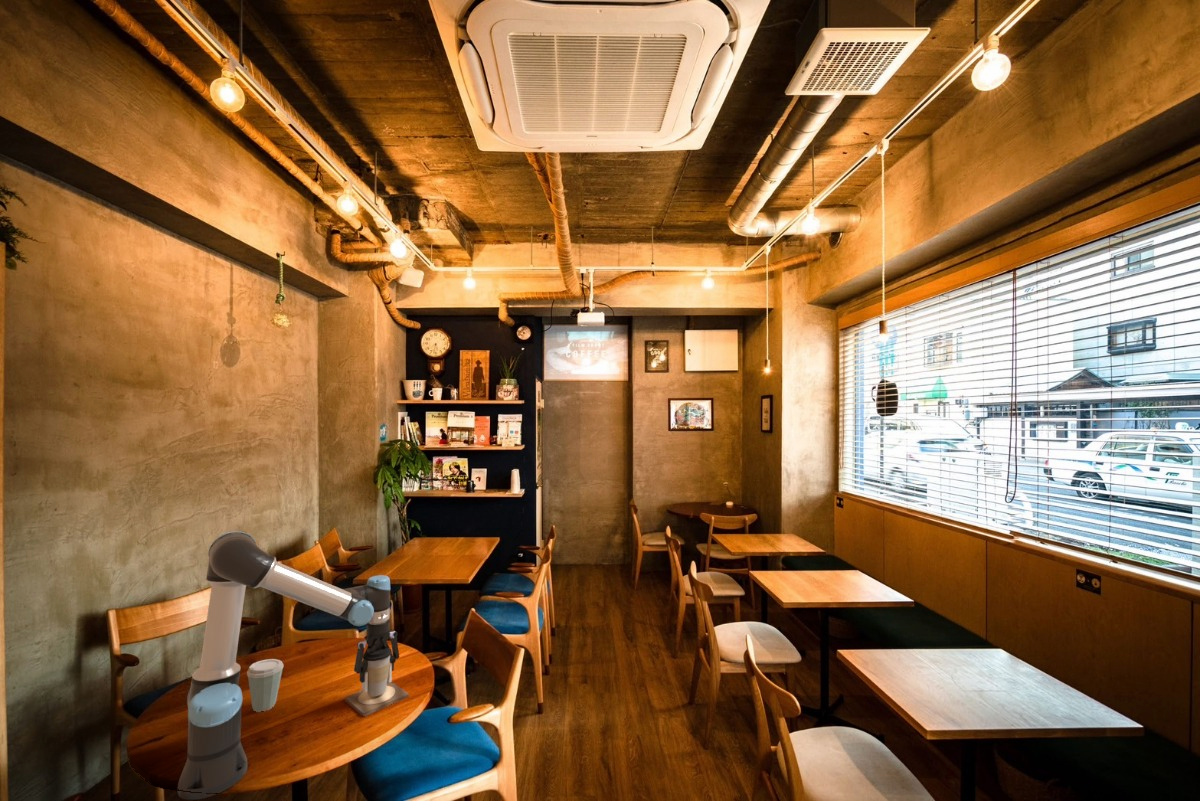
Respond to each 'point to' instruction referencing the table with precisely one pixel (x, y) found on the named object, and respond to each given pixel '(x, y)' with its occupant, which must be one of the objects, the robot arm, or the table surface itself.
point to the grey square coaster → (375, 699)
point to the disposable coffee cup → (264, 683)
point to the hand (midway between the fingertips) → (376, 685)
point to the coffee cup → (377, 670)
